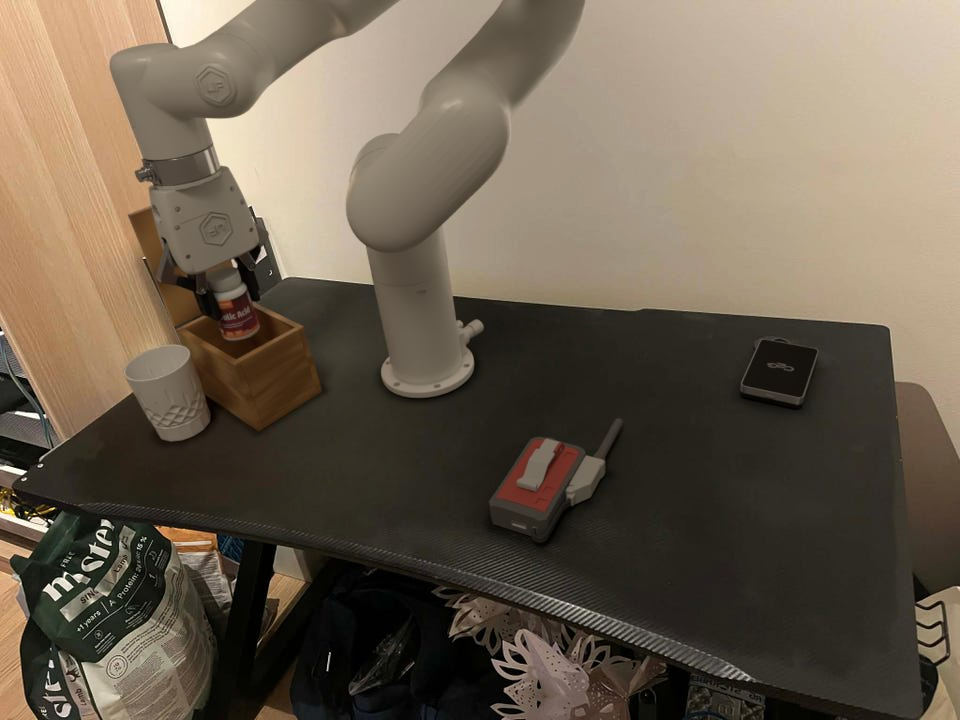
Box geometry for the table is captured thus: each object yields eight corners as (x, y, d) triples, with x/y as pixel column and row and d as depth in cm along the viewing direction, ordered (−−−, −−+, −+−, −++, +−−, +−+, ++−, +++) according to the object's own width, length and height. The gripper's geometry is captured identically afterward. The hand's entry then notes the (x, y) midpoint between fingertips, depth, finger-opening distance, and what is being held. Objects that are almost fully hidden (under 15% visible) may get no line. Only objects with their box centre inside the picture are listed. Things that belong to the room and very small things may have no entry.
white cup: (195, 446, 88) (167, 381, 83) (140, 443, 90) (109, 379, 84) (226, 407, 95) (202, 344, 89) (174, 405, 96) (147, 343, 91)
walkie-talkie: (562, 558, 68) (629, 431, 82) (560, 526, 65) (629, 400, 79) (481, 531, 72) (558, 414, 86) (476, 500, 69) (556, 385, 83)
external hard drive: (817, 362, 89) (819, 348, 88) (800, 413, 81) (802, 399, 80) (759, 351, 92) (760, 338, 91) (737, 399, 84) (739, 386, 83)
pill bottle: (226, 346, 88) (204, 287, 84) (220, 330, 92) (198, 272, 87) (264, 333, 90) (244, 274, 85) (256, 318, 94) (236, 261, 89)
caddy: (322, 391, 95) (303, 326, 89) (258, 431, 89) (233, 364, 84) (263, 358, 104) (242, 296, 98) (201, 392, 98) (175, 329, 93)
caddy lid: (206, 186, 89) (185, 179, 93) (130, 215, 84) (110, 206, 87) (242, 294, 98) (222, 284, 101) (175, 327, 92) (155, 315, 95)
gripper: (125, 197, 72) (186, 348, 82) (267, 147, 81) (306, 287, 92) (95, 185, 76) (156, 329, 86) (232, 139, 86) (273, 273, 96)
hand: (232, 306), depth 89 cm, fingers closed on pill bottle, 4 cm apart
